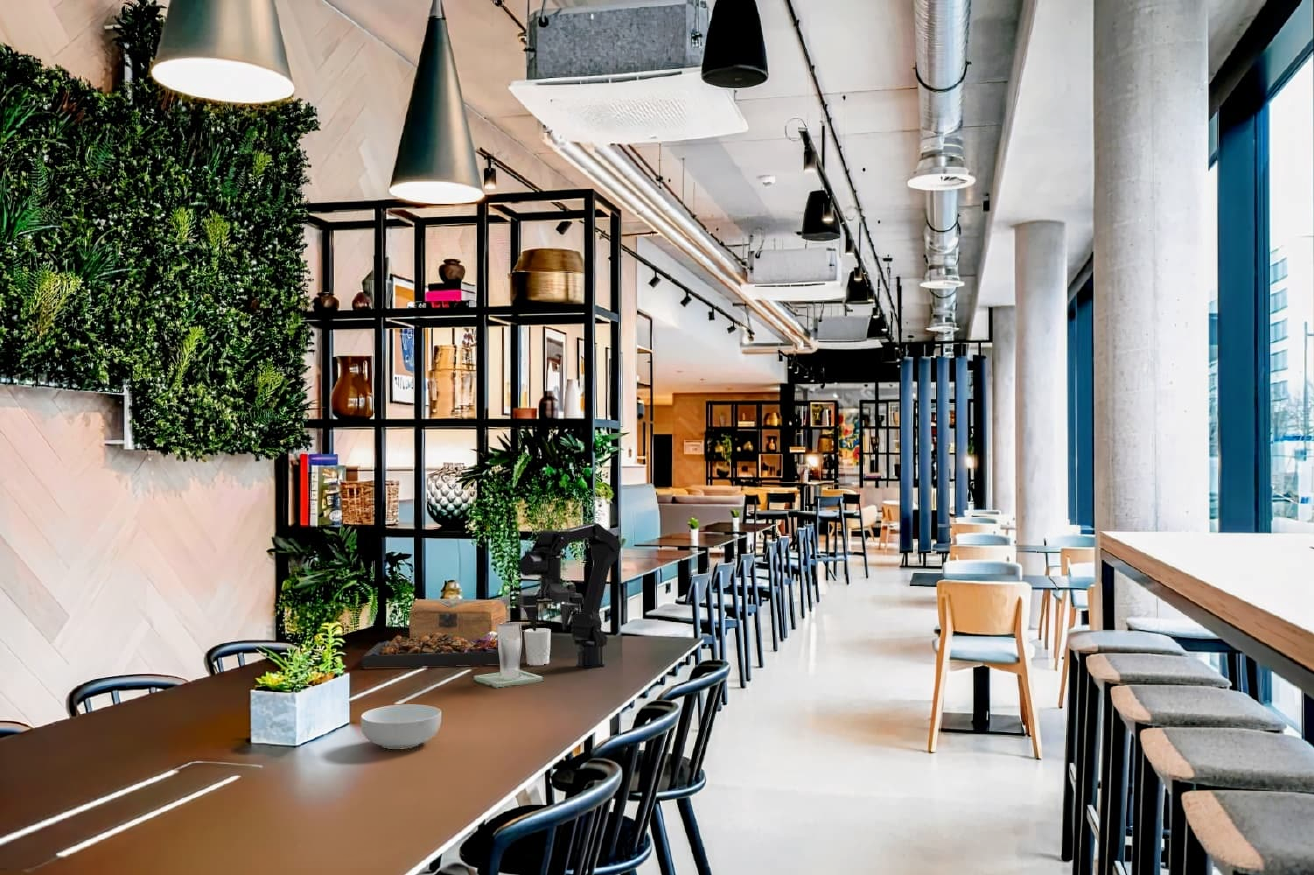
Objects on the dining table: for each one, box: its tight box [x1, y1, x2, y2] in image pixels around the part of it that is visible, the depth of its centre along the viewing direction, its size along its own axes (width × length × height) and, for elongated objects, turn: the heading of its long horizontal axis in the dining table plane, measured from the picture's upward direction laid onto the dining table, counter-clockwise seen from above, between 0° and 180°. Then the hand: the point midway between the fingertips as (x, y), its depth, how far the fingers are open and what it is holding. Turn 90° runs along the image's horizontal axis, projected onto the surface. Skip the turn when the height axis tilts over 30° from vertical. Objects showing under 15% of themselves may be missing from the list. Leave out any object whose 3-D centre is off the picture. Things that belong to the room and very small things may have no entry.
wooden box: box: [408, 598, 507, 640], centre depth 370 cm, size 30×16×14 cm, turn 78°
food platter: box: [361, 631, 500, 668], centre depth 332 cm, size 45×25×10 cm, turn 93°
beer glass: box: [497, 622, 523, 680], centre depth 298 cm, size 7×7×15 cm
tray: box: [473, 669, 544, 689], centre depth 298 cm, size 14×14×1 cm
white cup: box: [523, 627, 552, 666], centre depth 323 cm, size 8×8×10 cm
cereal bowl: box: [360, 703, 442, 749], centre depth 231 cm, size 17×17×7 cm
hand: (549, 630), depth 303 cm, fingers open, 9 cm apart
